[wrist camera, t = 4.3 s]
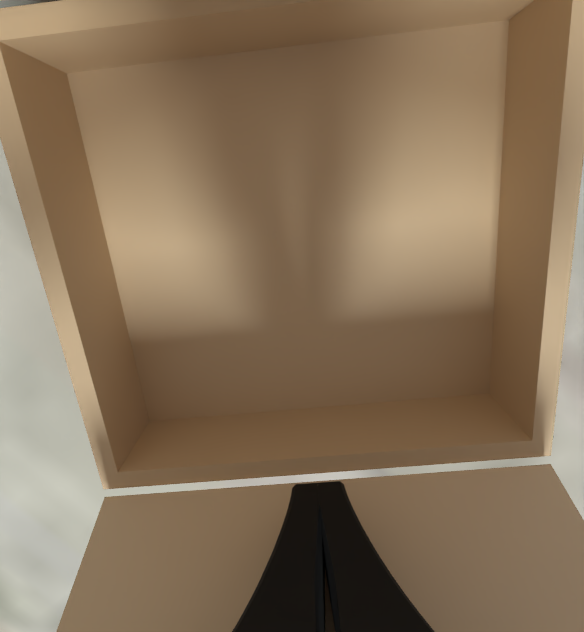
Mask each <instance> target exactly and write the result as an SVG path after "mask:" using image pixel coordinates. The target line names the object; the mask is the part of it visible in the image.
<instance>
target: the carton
mask: <svg viewBox="0 0 584 632" xmlns="http://www.w3.org/2000/svg"><path fill="white" fill-rule="evenodd" d="M0 138H1V142H2V145H3V149H4V152H5V155H6V159H7V162H8V166H9V169H10V172H11V176H12V179H13V183H14V186H15V189H16V193H17V196H18V200H19V203H20V206H21V210H22V213H23V217H24V220H25V223H26V227H27V230H28V234H29V237H30V240H31V244H32V247H33V251H34V254H35V257H36V261H37V264H38V268H39V271H40V274H41V278H42V281H43V285H44V288H45V291H46V295H47V298H48V302H49V305H50V308H51V312H52V315H53V319H54V322H55V325H56V329H57V332H58V336H59V339H60V342H61V346H62V349H63V353H64V356H65V359H66V363H67V366H68V370H69V373H70V376H71V380H72V383H73V387H74V390H75V393H76V397H77V400H78V404H79V407H80V410H81V414H82V417H83V421H84V424H85V427H86V431H87V434H88V438H89V441H90V444H91V448H92V451H93V455H94V458H95V461H96V465H97V468H98V472H99V475H100V478H101V482H102V485H103V489H113V488H127V487H140V486H153V485H167V484H180V483H193V482H207V481H220V480H233V479H247V478H260V477H273V476H287V475H300V474H313V473H327V472H340V471H353V470H367V469H380V468H394V467H407V466H420V465H434V464H447V463H460V462H474V461H487V460H500V459H514V458H527V457H540V456H551V449H552V440H553V431H554V422H555V413H556V403H557V394H558V385H559V376H560V367H561V358H562V349H563V340H564V330H565V321H566V312H567V303H568V294H569V285H570V276H571V266H572V257H573V248H574V239H575V230H576V221H577V212H578V203H579V193H580V184H581V175H582V166H583V157H584V0H61V1H53V2H45V3H38V4H30V5H22V6H14V7H7V8H0Z"/></svg>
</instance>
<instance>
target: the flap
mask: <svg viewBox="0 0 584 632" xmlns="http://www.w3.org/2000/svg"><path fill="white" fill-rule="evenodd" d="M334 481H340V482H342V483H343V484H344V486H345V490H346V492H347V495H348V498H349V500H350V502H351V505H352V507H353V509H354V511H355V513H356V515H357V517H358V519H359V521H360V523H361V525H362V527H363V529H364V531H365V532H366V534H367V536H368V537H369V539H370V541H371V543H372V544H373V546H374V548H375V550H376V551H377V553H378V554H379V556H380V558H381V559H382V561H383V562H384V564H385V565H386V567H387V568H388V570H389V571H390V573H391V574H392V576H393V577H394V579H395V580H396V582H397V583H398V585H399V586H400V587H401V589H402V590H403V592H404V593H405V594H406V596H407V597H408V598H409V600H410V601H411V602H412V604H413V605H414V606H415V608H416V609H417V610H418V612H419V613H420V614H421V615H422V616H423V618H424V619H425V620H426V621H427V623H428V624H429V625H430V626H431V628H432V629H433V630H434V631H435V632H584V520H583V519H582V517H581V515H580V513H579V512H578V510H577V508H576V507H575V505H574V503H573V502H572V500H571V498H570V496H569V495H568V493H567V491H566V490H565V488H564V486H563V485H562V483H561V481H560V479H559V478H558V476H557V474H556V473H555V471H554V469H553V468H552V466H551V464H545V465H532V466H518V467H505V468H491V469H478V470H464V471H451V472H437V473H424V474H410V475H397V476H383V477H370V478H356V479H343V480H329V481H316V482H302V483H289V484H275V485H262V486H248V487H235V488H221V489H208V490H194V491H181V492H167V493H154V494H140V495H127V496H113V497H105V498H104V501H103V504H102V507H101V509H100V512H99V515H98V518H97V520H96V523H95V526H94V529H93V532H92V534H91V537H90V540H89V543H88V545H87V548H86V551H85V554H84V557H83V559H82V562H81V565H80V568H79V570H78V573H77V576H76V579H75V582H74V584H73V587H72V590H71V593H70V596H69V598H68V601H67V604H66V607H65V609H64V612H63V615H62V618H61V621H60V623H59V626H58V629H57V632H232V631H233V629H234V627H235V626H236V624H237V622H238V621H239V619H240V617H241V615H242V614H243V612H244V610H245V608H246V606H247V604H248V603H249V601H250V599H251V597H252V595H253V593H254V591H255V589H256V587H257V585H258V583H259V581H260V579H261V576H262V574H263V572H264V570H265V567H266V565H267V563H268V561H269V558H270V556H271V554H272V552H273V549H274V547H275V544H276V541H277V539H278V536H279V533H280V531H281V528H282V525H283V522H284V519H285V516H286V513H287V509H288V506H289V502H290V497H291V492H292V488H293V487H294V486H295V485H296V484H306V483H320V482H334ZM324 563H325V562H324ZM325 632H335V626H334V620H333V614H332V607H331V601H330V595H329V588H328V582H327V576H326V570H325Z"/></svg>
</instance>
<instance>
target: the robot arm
mask: <svg viewBox="0 0 584 632" xmlns="http://www.w3.org/2000/svg"><path fill="white" fill-rule="evenodd" d="M324 562H325V563H324ZM325 570H326V576H327V582H328V588H329V595H330V601H331V607H332V614H333V620H334V626H335V632H435V631H434V630H433V629H432V628H431V626H430V625H429V624H428V623H427V621H426V620H425V619H424V618H423V616H422V615H421V614H420V613H419V612H418V610H417V609H416V608H415V606H414V605H413V604H412V602H411V601H410V600H409V598H408V597H407V596H406V594H405V593H404V592H403V590H402V589H401V587H400V586H399V585H398V583H397V582H396V580H395V579H394V577H393V576H392V574H391V573H390V571H389V570H388V568H387V567H386V565H385V564H384V562H383V561H382V559H381V558H380V556H379V554H378V553H377V551H376V550H375V548H374V546H373V544H372V543H371V541H370V539H369V537H368V536H367V534H366V532H365V531H364V529H363V527H362V525H361V523H360V521H359V519H358V517H357V515H356V513H355V511H354V509H353V507H352V505H351V502H350V500H349V498H348V495H347V492H346V490H345V486H344V484H343V483H342V482H340V481H334V482H320V483H306V484H296V485H295V486H294V487H293V488H292V492H291V497H290V502H289V506H288V509H287V513H286V516H285V519H284V522H283V525H282V528H281V531H280V533H279V536H278V539H277V541H276V544H275V547H274V549H273V552H272V554H271V556H270V558H269V561H268V563H267V565H266V567H265V570H264V572H263V574H262V576H261V579H260V581H259V583H258V585H257V587H256V589H255V591H254V593H253V595H252V597H251V599H250V601H249V603H248V604H247V606H246V608H245V610H244V612H243V614H242V615H241V617H240V619H239V621H238V622H237V624H236V626H235V627H234V629H233V631H232V632H325Z"/></svg>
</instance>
